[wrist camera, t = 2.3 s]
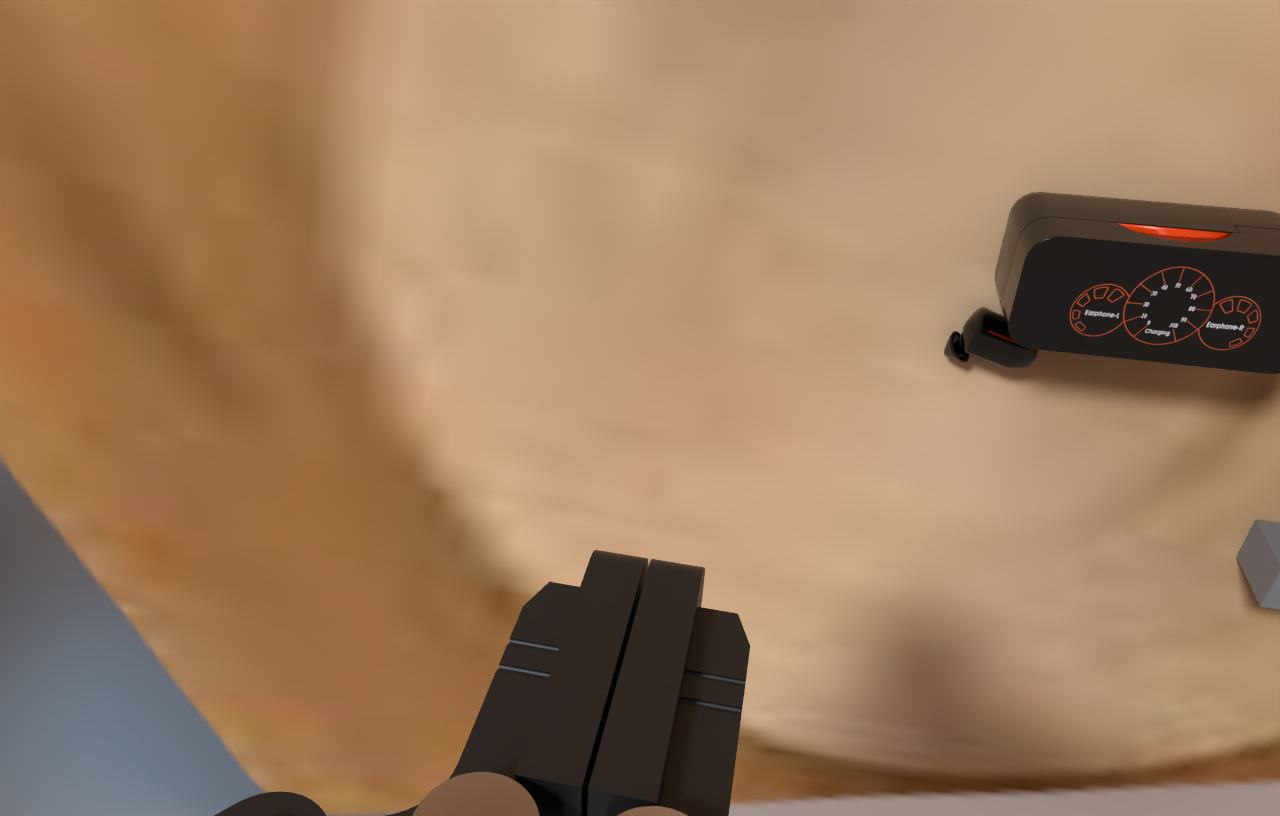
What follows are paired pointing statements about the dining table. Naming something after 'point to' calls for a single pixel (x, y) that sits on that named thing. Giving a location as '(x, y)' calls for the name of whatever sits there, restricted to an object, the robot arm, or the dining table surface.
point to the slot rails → (1263, 562)
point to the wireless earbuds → (1132, 285)
